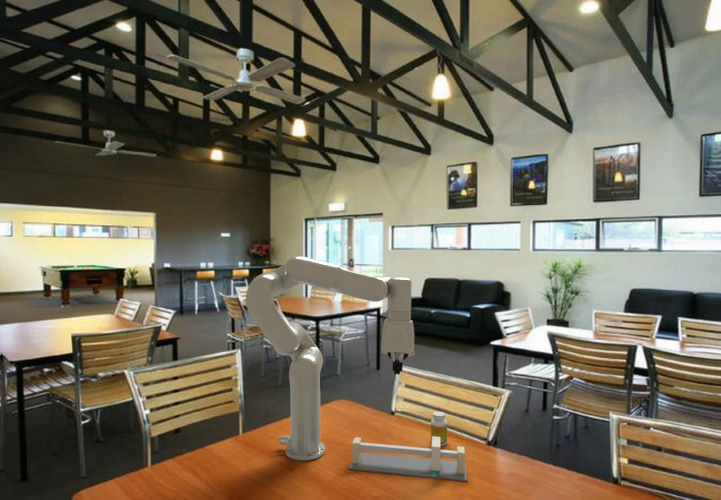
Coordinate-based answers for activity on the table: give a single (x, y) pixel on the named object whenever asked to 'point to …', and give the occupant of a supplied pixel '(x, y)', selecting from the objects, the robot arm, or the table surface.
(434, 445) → the white block
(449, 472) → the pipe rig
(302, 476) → the table surface
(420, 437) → the table surface
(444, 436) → the supplement bottle
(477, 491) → the table surface
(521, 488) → the table surface
